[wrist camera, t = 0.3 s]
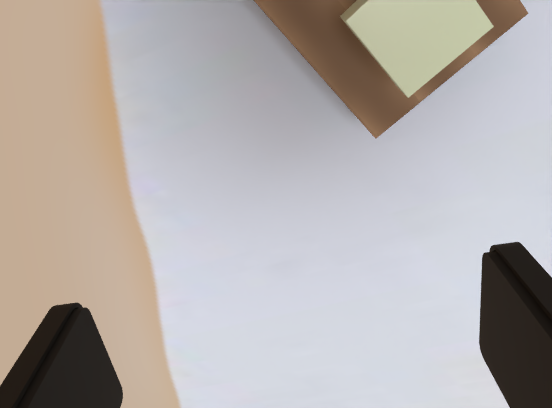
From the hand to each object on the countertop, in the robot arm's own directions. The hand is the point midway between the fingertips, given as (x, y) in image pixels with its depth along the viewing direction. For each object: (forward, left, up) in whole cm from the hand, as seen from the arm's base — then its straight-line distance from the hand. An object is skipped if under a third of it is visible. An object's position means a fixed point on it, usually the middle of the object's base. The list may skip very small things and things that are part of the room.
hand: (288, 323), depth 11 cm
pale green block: (-9, +2, -25) cm, 27 cm away
